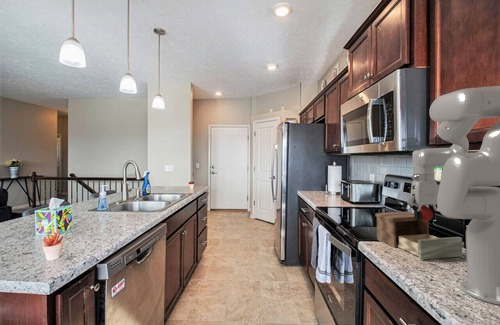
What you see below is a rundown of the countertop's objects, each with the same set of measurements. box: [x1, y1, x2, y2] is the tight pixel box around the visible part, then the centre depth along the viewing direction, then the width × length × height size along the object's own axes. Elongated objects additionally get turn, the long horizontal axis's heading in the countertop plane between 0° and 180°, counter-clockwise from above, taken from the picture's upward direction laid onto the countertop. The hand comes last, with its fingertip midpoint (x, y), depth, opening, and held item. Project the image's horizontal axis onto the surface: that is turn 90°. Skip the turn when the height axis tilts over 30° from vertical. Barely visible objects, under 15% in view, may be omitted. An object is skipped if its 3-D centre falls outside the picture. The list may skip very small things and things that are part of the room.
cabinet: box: [374, 210, 430, 249], centre depth 117 cm, size 12×19×14 cm
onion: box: [420, 205, 433, 223], centre depth 104 cm, size 6×6×8 cm
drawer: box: [397, 233, 463, 261], centre depth 103 cm, size 15×19×8 cm
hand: (424, 219), depth 104 cm, fingers closed on onion, 5 cm apart
